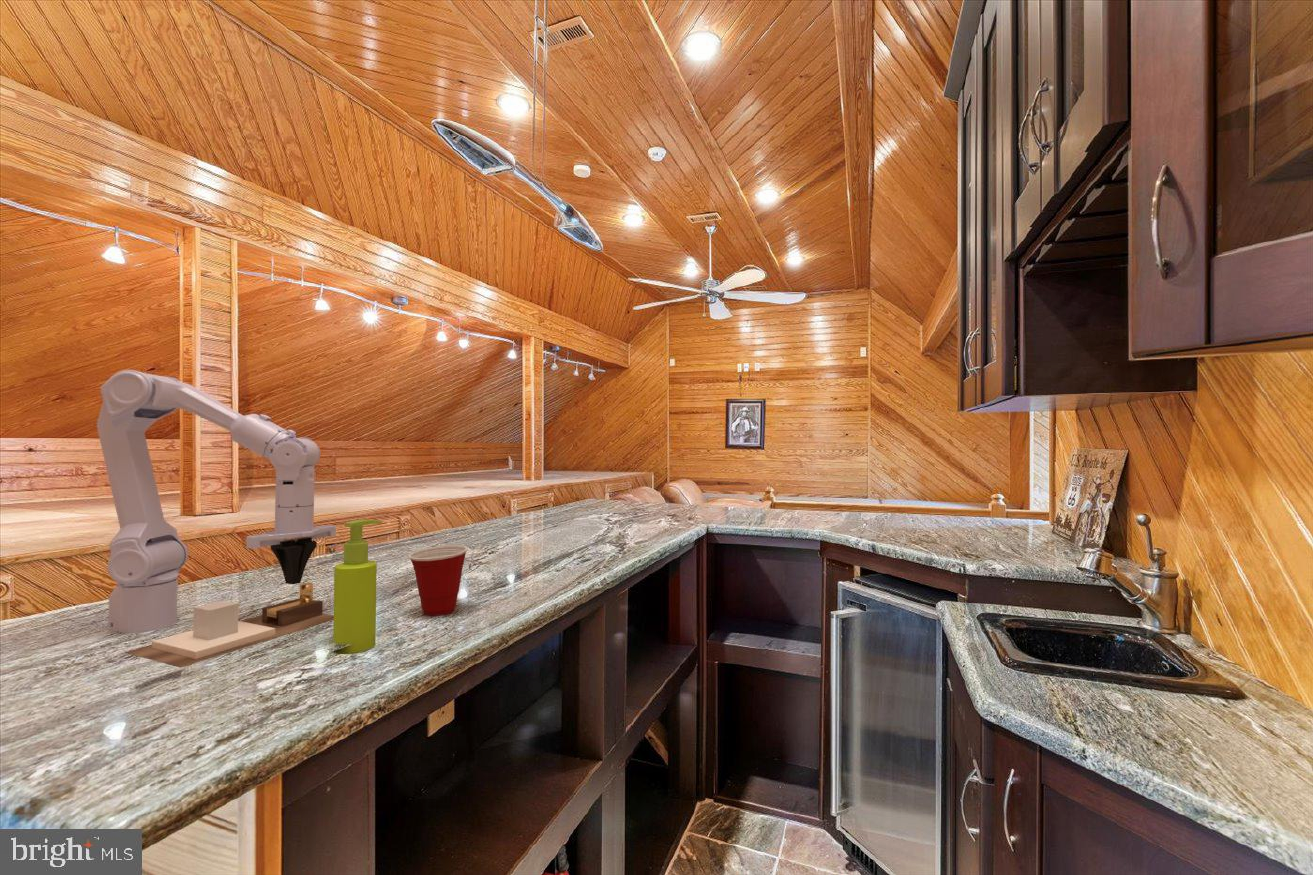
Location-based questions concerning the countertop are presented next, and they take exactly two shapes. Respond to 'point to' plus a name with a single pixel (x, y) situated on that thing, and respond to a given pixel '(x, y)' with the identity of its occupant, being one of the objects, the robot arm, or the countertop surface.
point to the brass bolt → (305, 597)
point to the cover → (213, 632)
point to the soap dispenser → (355, 594)
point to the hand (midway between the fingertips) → (293, 583)
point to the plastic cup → (438, 577)
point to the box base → (283, 625)
